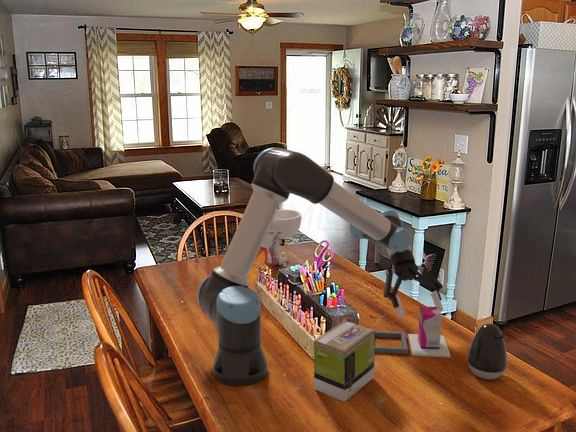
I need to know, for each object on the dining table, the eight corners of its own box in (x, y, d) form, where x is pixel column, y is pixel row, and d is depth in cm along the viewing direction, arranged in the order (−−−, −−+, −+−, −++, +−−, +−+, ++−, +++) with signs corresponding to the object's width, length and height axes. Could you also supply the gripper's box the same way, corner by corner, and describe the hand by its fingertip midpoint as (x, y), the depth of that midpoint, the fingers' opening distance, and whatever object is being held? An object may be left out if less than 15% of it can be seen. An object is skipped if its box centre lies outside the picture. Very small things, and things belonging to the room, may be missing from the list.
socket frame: (407, 354, 159) (408, 349, 158) (369, 352, 160) (369, 347, 159) (404, 336, 170) (404, 332, 169) (368, 334, 171) (368, 330, 170)
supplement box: (436, 340, 166) (438, 306, 163) (439, 349, 160) (442, 314, 157) (417, 339, 166) (419, 305, 163) (420, 348, 161) (422, 313, 158)
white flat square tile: (450, 357, 156) (450, 355, 156) (412, 355, 158) (412, 353, 157) (443, 337, 169) (443, 335, 169) (408, 335, 170) (408, 333, 170)
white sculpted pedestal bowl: (285, 254, 251) (285, 207, 245) (309, 265, 235) (310, 215, 230) (239, 264, 237) (238, 214, 231) (261, 276, 222) (260, 223, 216)
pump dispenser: (481, 387, 141) (486, 335, 137) (459, 367, 151) (463, 318, 147) (514, 381, 144) (520, 330, 140) (490, 363, 154) (495, 314, 150)
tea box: (344, 366, 152) (345, 319, 148) (374, 378, 146) (376, 329, 142) (312, 389, 140) (313, 338, 137) (344, 403, 134) (345, 350, 131)
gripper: (428, 255, 183) (450, 313, 173) (362, 262, 176) (381, 323, 166) (438, 245, 177) (461, 304, 167) (370, 252, 169) (390, 314, 159)
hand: (421, 314), depth 166 cm, fingers open, 13 cm apart
